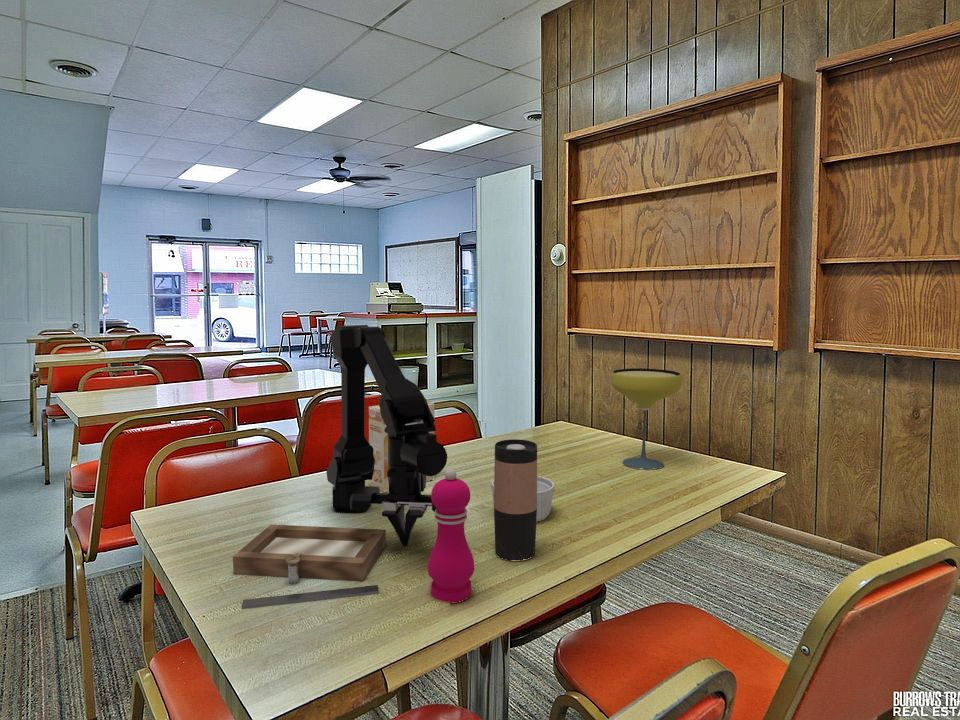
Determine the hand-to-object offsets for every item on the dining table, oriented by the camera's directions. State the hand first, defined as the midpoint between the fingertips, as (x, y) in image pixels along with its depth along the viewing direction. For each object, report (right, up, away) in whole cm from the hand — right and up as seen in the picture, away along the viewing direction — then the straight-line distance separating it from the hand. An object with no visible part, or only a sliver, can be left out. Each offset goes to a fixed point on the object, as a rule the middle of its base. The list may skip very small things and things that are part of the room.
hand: (405, 545), depth 112 cm
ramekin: (+22, +1, +19) cm, 29 cm away
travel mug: (+20, -1, 0) cm, 20 cm away
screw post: (-16, -3, -12) cm, 21 cm away
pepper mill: (+9, -3, -15) cm, 18 cm away
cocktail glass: (+58, +5, +56) cm, 80 cm away
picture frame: (-16, -1, -5) cm, 17 cm away
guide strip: (-12, -3, -17) cm, 21 cm away
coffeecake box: (-5, +3, +40) cm, 40 cm away
